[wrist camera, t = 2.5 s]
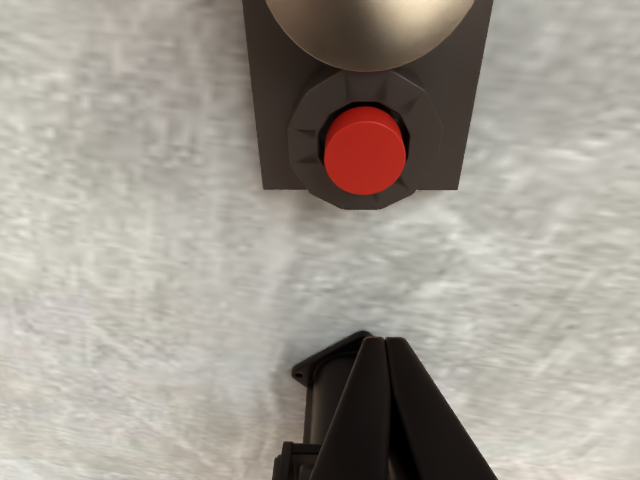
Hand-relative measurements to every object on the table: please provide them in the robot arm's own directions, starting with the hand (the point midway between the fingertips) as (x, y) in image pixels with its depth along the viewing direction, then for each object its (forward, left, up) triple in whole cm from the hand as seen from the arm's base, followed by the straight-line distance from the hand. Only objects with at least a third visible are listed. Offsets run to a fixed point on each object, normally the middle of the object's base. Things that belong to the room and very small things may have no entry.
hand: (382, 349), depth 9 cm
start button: (0, 0, -10) cm, 10 cm away
